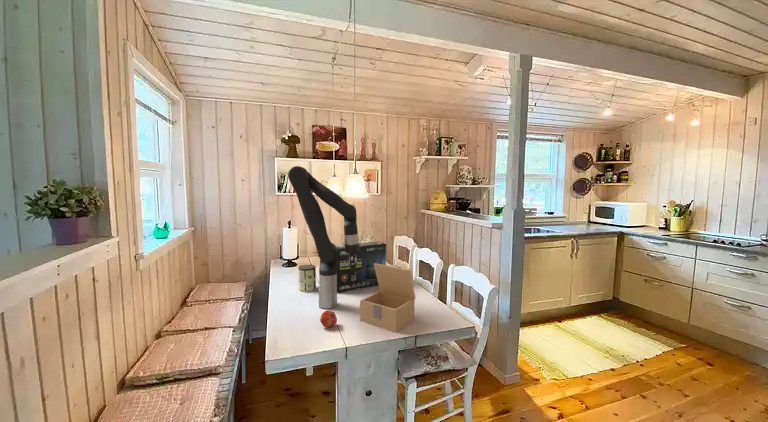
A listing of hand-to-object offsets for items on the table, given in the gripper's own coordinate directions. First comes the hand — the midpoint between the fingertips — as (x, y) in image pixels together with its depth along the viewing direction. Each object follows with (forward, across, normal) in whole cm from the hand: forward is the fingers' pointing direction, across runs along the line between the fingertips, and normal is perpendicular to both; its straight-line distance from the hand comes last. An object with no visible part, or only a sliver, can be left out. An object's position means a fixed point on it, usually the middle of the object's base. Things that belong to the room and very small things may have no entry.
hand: (353, 273), depth 171 cm
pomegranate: (+17, +25, -12) cm, 32 cm away
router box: (+18, -32, 0) cm, 36 cm away
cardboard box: (+18, +20, +15) cm, 31 cm away
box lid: (+1, +16, +20) cm, 25 cm away
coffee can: (+15, -27, -30) cm, 44 cm away
